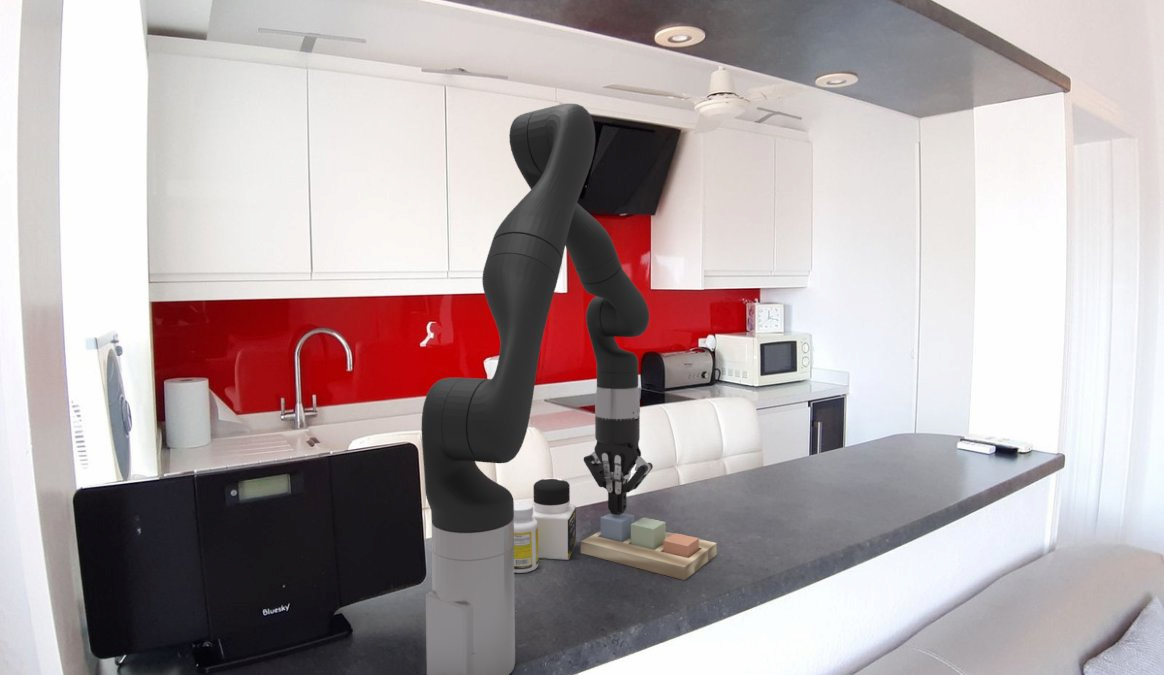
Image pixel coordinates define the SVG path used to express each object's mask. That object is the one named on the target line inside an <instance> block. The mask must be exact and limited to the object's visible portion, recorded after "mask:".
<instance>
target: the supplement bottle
mask: <svg viewBox="0 0 1164 675" xmlns="http://www.w3.org/2000/svg"><path fill="white" fill-rule="evenodd" d="M533 507H534V504H532V503H529V502H523V501H522V502H514V574H515V573H516V574H524V573H529V572H533V571H534V570H537V568H538V567H539V558H538V523H537V520H536V519H535V518H533V517H532V515H533Z"/></svg>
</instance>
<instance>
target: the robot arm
mask: <svg viewBox="0 0 1164 675" xmlns="http://www.w3.org/2000/svg"><path fill="white" fill-rule="evenodd" d="M509 145H510V151H511V154H512V157H513V159H514V162H515V164H516V166H517V168H518V170H519V172H520V173H521V175H522V177H523V179H524V180H525V183H526V184H527V186H528V187H529V188H530V191H529V192H527V194H525V196H524V197H523V198H522V199H521V200H520V201H519V202H518V203H517V204H516V205H515V206H514V207H513V209H511V211H510V212H509V213H508V214H507V215H506V217H505V218H504V219H503V220H502V222H501V223H500V224H499V226H498V228H497V229H496V231H495V233H494V235H493V238H492V241H491V243H490V247H489V251H488V253H487V256H486V259H485V263H484V267H483V270H482V271H483V272H482V281H481V282H482V288H483V293H484V295H485V296H484V297H485V299H486V302H487V305H488V308H489V310H490V312H491V315H492V318H493V320H494V322H495V325H496V328H497V332H498V336H499V342H500V343H499V344H500V347H499V354H498V360H497V365H496V369H495V371H494V374H493V376H492V378H475V377H467V378H466V377H446V378H445V377H444V378H441V379H439V380H437V381H436V382H434V384H432V386H431V387H430V388H429V390H428V391H427V394H426V396H425V399H424V403H423V407H422V413H421V414H422V415H421V445H422V457H423V458H422V459H423V473H424V474H423V475H424V489H425V496H426V501H427V504H428V505H429V508H430V515H431V516H430V517H431V569H432V571H431V572H432V573H431V574H432V575H431V576H432V578H431V581H432V582H431V583H432V590H430V591H429V592H427V593H426V594H425V635H426V636H425V638H426V640H425V641H426V649H425V650H426V675H510V674H511V673H513V671H514V668H515V666H516V630H515V629H516V628H515V627H516V626H515V624H516V623H515V622H516V621H515V620H516V619H515V618H516V617H515V610H516V609H515V608H516V607H515V573H514V503H515V502H514V501H515V500H514V498H513V495H512V493H511V492H510V490H509V489H507V488H506V487H505V486H503V485H501V484H499V483H498V482H496V481H495V480H492V479H491V478H490V477H489V476H487V475H486V474H485V473H484V472H483V471H482V470H481V469H480V468H479V466H478V465H477V463H476V462H478V463H479V462H480V463H490V464H507V463H509V462H511V461H512V460H513V459H515V458H516V456H517V455H518V454H519V452H520V451H521V449H522V447H523V444H524V441H525V437H526V434H527V431H528V428H529V424H530V416H531V410H532V406H533V398H534V391H535V384H536V378H537V373H538V372H537V371H538V365H539V358H540V352H541V347H542V343H543V339H544V338H543V337H544V334H545V330H546V325H547V322H548V318H549V317H548V316H549V312H550V308H551V304H552V300H553V297H554V294H555V290H556V288H557V283H558V279H559V275H560V273H561V272H560V271H561V267H562V264H563V258H564V253H565V248H566V251H567V253H568V254H569V257H570V259H571V261H572V264H573V266H574V269H575V271H576V273H577V276H578V279H579V281H580V283H581V285H582V288H583V289H584V291H586V293H588V294H589V295H591V296H594V297H593V298H592V299H591V301H590V302H589V303H588V306H587V308H586V312H585V322H586V328H587V331H588V334H589V339H590V343H591V346H592V350H593V354H594V358H595V362H596V392H595V402H594V408H595V409H594V410H595V411H594V414H595V415H594V418H595V419H594V421H595V422H594V424H595V425H594V429H595V430H594V433H595V434H594V436H595V438H594V439H595V441H596V444H595V446H594V451H593V452H592V453H590V454H588V455H586V456H584V457H583V462H584V464H585V466H586V467H587V469H588V471H589V472H590V474H591V476H592V477H593V480H594V481H595V482H596V484H597V486H598V487H600V488H604V490H606V492H607V501H608V502H607V508H608V510H609V513H611V514H614V515H621V514H623V513H624V512H625V511H627V503H628V502H627V494H628V493H630V492H631V491H633V490H636V489H638V488H639V486H640V485H641V483H642V482H643V481H644V479H646V477H647V476H648V475H649V473H650V472H651V471H652V469H653V467H654V466H653V464H652V462H647V461H646V460H645V459H644V458H643V457H642V452H641V449H640V447H639V443H640V438H641V437H640V433H641V432H640V426H641V425H640V422H641V420H640V419H641V418H640V414H641V407H640V406H641V405H640V394H639V359H638V356H637V355H636V353H634V352H632V351H628V350H625V349H622V348H621V347H619V346H618V343H617V342H616V338H637V337H639V336H641V335H643V334H644V333H645V332H646V330H647V329H648V326H649V324H650V310H649V307H648V304H647V301H646V300H645V299H646V298H644V297H643V295H642V293H641V292H640V291H639V288H637V286H636V285H635V284H634V283H633V281H632V280H631V278H630V277H629V275H628V274H627V273H626V271H624V268H623V267H622V263H621V261H620V258H619V255H618V253H617V250H616V247H615V244H614V243H613V242H614V241H613V240H612V238H611V236H610V235H609V232H608V231H607V230H606V228H605V227H603V225H602V224H601V223H600V222H599V221H598V220H597V219H596V218H595V217H593V216H592V215H591V213H590V212H588V211H587V210H585V208H583V207H582V205H580V204H579V203H578V201H579V198H580V196H581V193H582V191H583V190H582V189H583V187H584V185H585V182H586V179H587V177H588V174H589V172H590V171H589V170H590V169H591V165H592V162H593V159H594V158H593V157H594V156H595V155H594V154H595V148H596V130H595V123H594V121H593V118H592V115H591V114H590V112H589V111H588V109H586V108H585V107H584V106H583V105H580V104H577V103H562V104H557V105H553V106H549V107H544V108H541V109H537V110H533V111H532V110H531V111H529V112H525V113H522V114H520V115H518V116H516V117H515V118H514V119H513V120H512V123H511V125H510V128H509ZM615 337H616V338H615ZM633 469H634V471H635V472H634V474H632V470H633ZM631 474H632V476H631Z"/></svg>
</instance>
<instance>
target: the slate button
mask: <svg viewBox="0 0 1164 675" xmlns="http://www.w3.org/2000/svg"><path fill="white" fill-rule="evenodd" d="M599 521H600V527H599V528H600V530H599V531H600V537H602V538H606V539H611V540H615V541H619V542H624V541H626V540H627V539H629V538H631V524H632V523H634V522H635V515H634V514H630V513H623V514H621V515H614V514H611V513H610V512H609V513H607V514H605V515H603V516H601V517H600V520H599Z"/></svg>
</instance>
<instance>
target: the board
mask: <svg viewBox="0 0 1164 675" xmlns="http://www.w3.org/2000/svg"><path fill="white" fill-rule="evenodd" d="M673 534H674V533H672V532H667V531H666V539H667V538H668V537H670V536H672V535H673ZM717 544H718V543H717V542H713V541H709V540H705V539H700V538H699V551H698V552H696V553H695V554H694V555H692V556H691V557H690V558H686V557H681V556H677V555H673V554H669V553H665V552H663V545H661V546H660V547H658V548H657V549H655V550H652V549H648V548H644V547H640V546H636V545H631V538H629V539H627V540H626V541H624V542H619V541H615V540H611V539H606V538H602V537H600V530H599V531H597V532H596V533H594V534H592V535H590V536H588V537H587V538H585V539H582V540H580V554H583V555H587V556H590V557H595V558H598V559H600V560H601V559H602V560H605V561H606V560H607V561H611V562H614V563H617V564H621V565H625V566H629V567H632V568H636V569H641V570H644V571H648V572H652V573H655V574H659V575H662V576H666V577H667V576H668V577H670V578H675V579H677V580H681V581H685V580H687V579H688V578H690V577H691V576H692V575H693V574H695V573H696V572H697V571H698V570H699V569H701V568H702V567H703V566H705V564H707V563H709V562H710V561H711V560H712V559H713V558H715V557H716V556H717V550H718V549H717Z"/></svg>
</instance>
